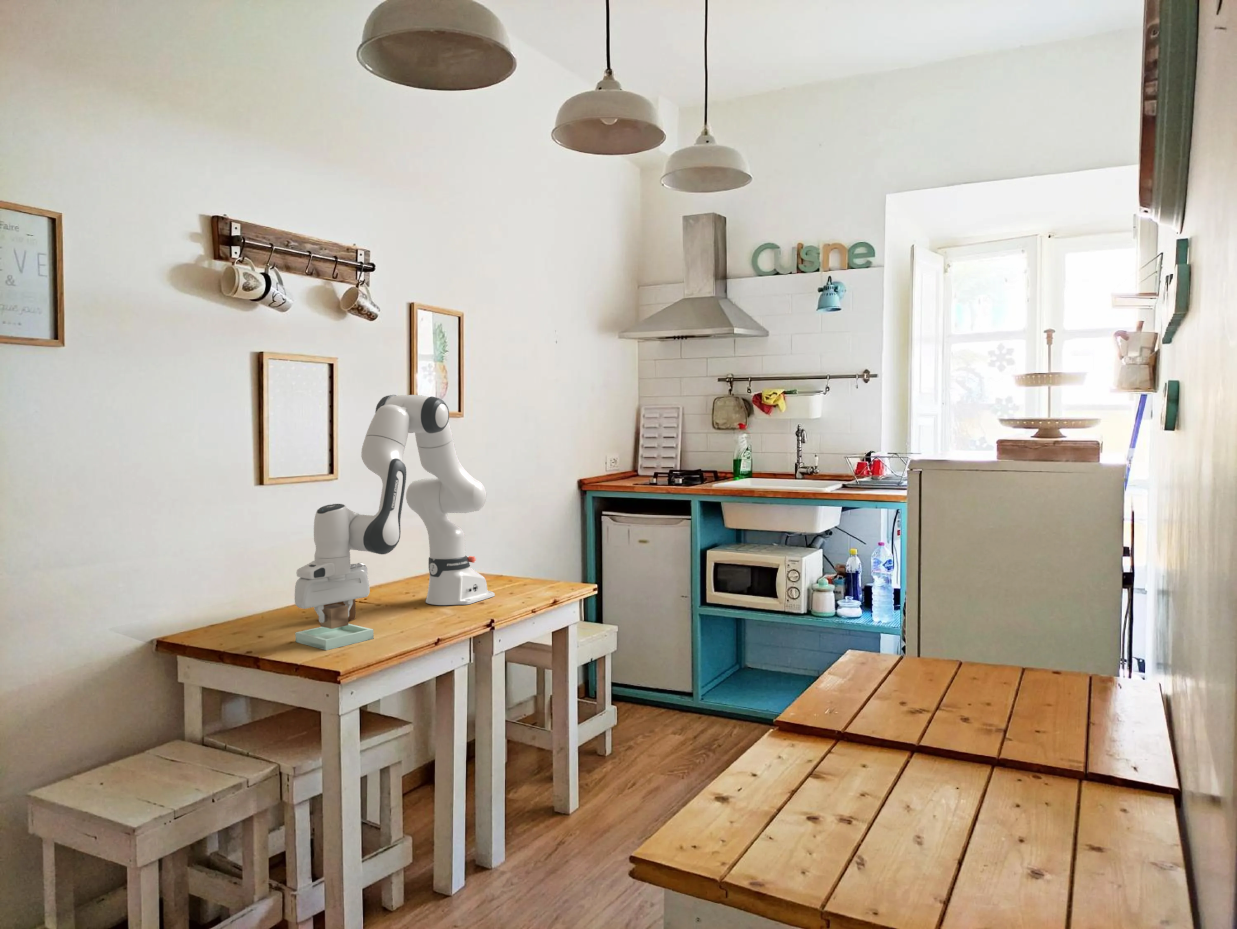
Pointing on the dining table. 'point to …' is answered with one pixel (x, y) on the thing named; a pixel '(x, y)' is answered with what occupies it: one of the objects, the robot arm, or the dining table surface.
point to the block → (335, 616)
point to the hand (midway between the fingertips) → (334, 619)
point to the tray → (334, 636)
